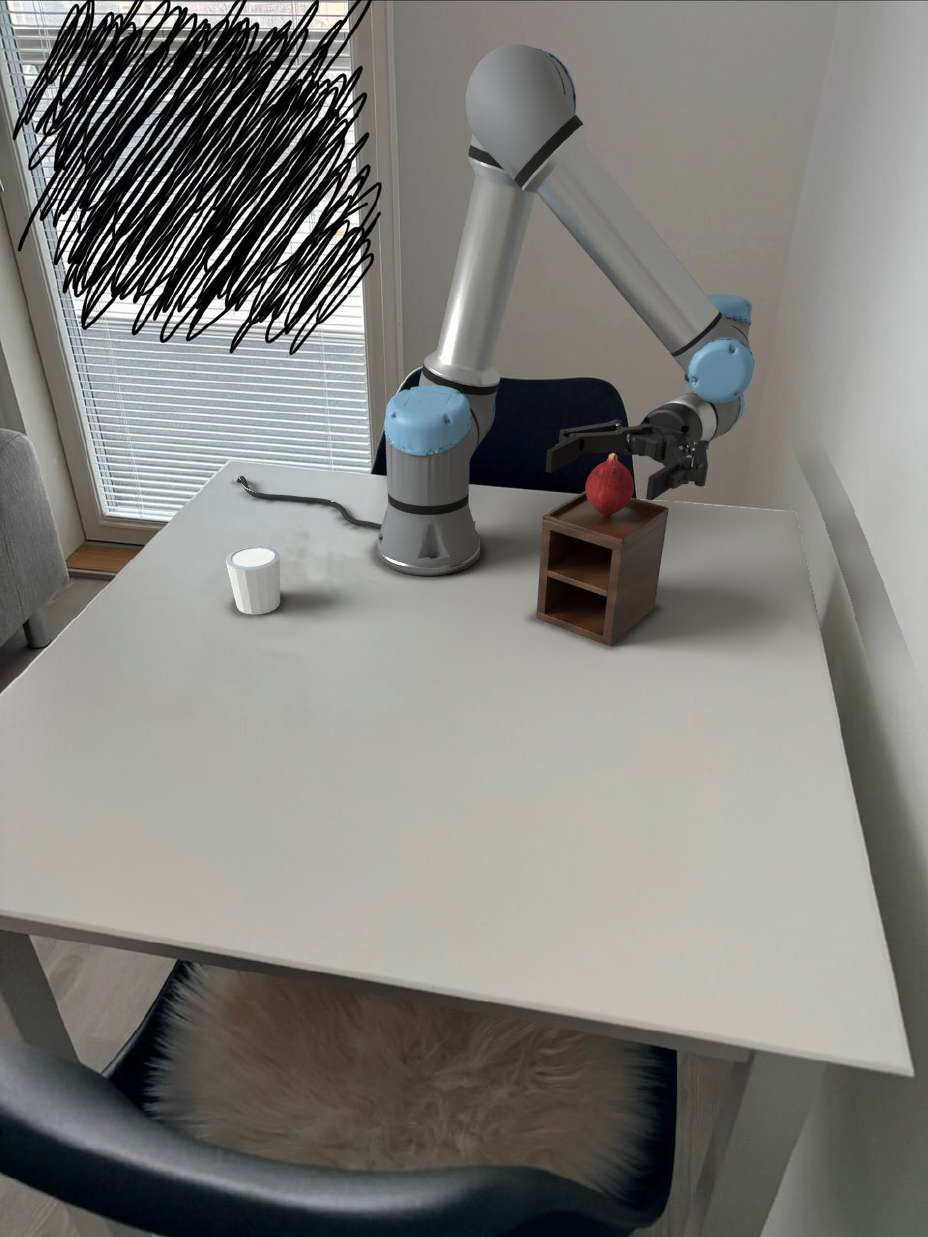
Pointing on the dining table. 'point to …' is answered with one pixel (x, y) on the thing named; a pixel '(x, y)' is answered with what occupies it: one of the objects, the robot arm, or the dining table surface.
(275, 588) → the shot glass
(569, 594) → the box
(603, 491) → the onion
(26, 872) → the dining table surface
